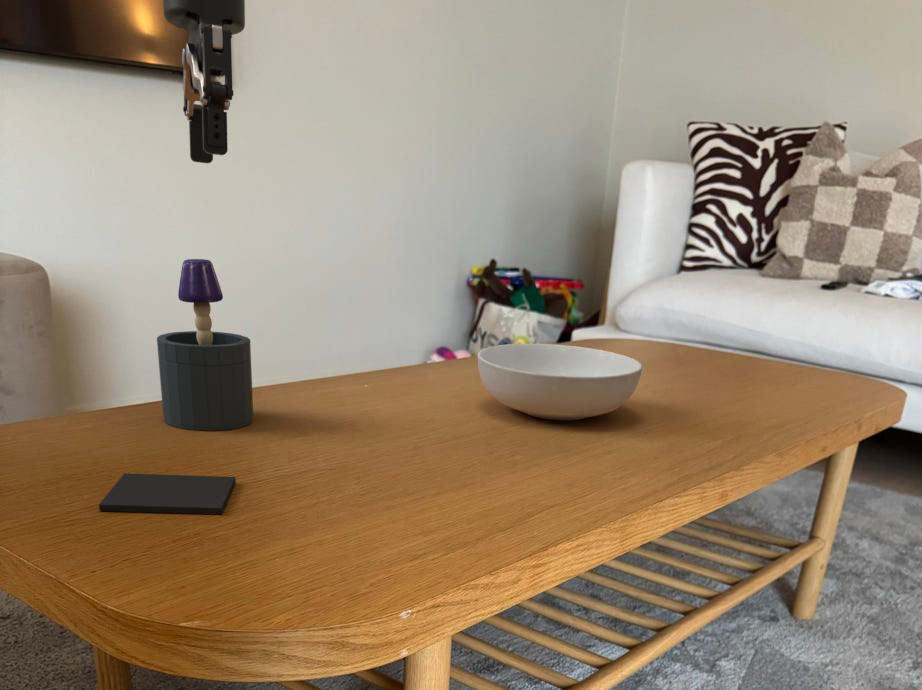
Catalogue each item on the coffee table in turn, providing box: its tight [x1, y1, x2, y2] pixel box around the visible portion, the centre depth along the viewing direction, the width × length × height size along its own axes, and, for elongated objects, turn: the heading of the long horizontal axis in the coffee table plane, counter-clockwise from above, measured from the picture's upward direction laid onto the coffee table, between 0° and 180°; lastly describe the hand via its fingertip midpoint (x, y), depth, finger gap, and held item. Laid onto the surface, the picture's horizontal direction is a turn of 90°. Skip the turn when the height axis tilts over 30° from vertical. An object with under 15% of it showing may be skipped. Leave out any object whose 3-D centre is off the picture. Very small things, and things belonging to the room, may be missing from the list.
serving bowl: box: [477, 343, 643, 421], centre depth 122 cm, size 21×21×7 cm
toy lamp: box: [177, 258, 224, 345], centre depth 105 cm, size 5×5×17 cm
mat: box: [98, 472, 237, 515], centre depth 84 cm, size 10×9×1 cm
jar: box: [156, 330, 254, 432], centre depth 107 cm, size 10×10×9 cm
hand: (208, 158), depth 96 cm, fingers open, 8 cm apart
